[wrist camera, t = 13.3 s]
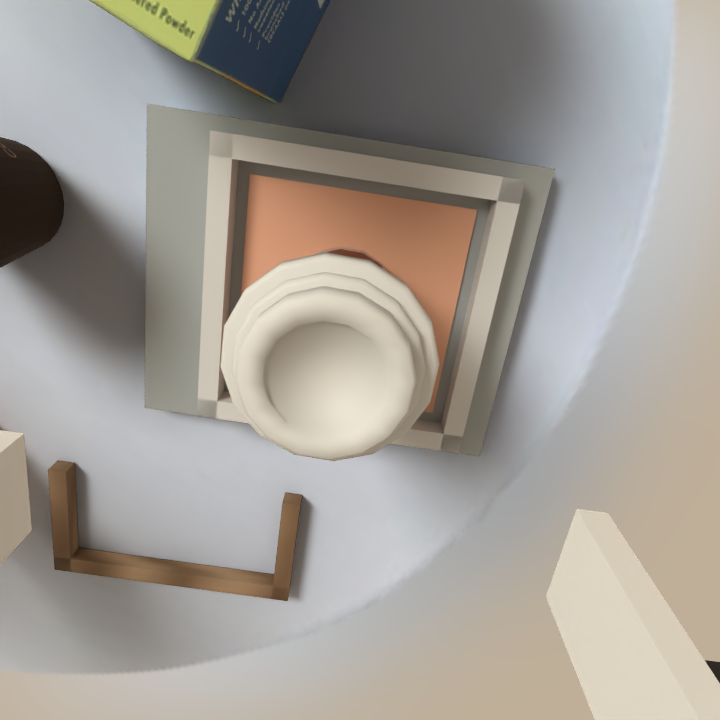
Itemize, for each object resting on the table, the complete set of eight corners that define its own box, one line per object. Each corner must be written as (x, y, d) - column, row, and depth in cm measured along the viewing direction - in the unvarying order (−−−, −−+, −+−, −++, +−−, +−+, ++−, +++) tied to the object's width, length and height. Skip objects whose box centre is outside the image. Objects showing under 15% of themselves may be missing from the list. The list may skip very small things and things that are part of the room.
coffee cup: (385, 393, 34) (390, 512, 23) (246, 342, 33) (180, 440, 22) (445, 258, 31) (485, 318, 20) (294, 197, 30) (246, 225, 19)
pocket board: (153, 398, 37) (135, 418, 34) (157, 105, 30) (135, 101, 27) (475, 444, 37) (483, 468, 34) (546, 168, 31) (564, 169, 28)
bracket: (63, 558, 42) (54, 569, 40) (57, 460, 39) (48, 469, 37) (289, 588, 42) (287, 600, 41) (301, 494, 39) (299, 505, 38)
